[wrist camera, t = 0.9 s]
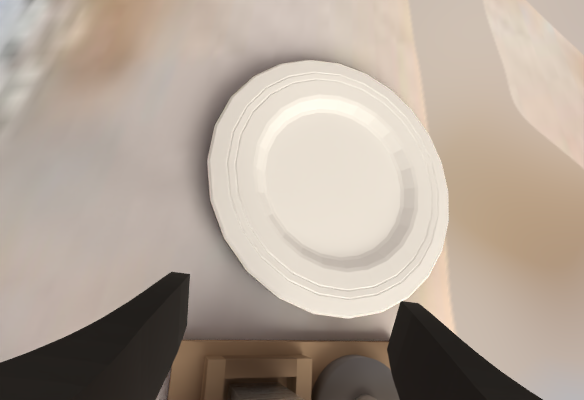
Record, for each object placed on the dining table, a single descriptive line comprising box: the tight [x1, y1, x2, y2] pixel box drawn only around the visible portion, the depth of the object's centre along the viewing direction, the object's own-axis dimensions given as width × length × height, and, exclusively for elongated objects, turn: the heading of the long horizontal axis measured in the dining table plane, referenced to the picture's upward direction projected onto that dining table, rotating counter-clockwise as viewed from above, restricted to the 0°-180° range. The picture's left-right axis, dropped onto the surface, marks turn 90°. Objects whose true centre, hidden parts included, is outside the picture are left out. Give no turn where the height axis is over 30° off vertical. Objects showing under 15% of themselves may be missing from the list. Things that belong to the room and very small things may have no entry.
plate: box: [207, 60, 449, 319], centre depth 29 cm, size 21×21×2 cm
